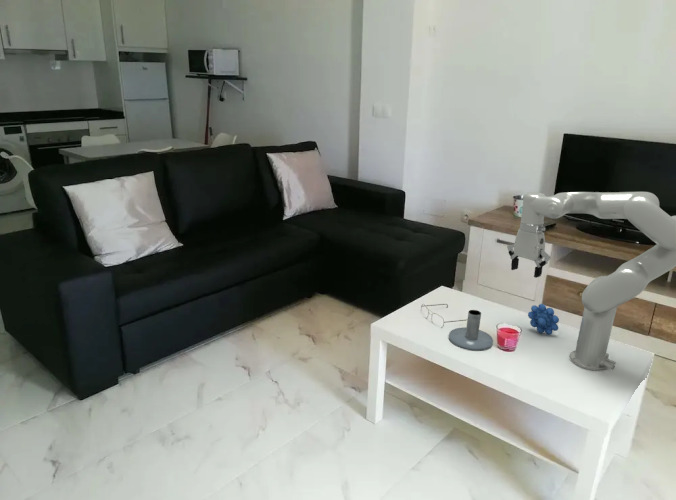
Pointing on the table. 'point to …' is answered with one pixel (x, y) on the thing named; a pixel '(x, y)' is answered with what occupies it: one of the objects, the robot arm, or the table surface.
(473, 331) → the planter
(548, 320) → the grapes
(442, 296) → the table surface
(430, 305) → the eyeglasses
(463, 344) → the dish
